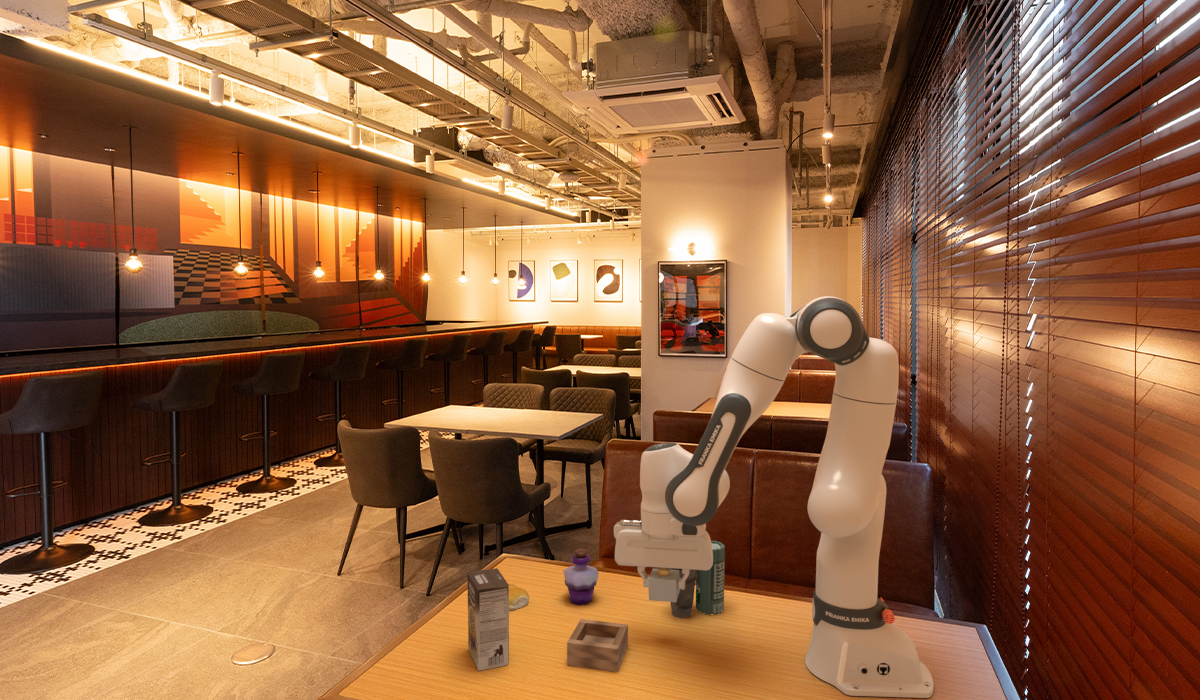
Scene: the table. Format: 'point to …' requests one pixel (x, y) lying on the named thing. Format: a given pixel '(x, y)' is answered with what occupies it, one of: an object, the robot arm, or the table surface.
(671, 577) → the lid
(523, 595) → the bread roll
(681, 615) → the beverage cup
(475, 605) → the coffee box
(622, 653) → the box
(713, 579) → the can
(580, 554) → the potion bottle
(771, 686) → the table surface
